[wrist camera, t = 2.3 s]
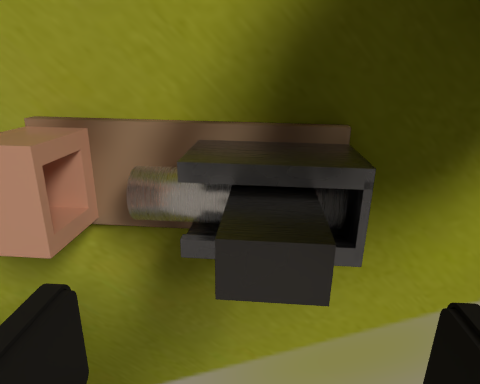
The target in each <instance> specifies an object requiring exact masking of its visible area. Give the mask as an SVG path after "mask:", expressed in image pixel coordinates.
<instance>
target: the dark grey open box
mask: <svg viewBox="0 0 480 384" xmlns="http://www.w3.org/2000/svg"><path fill="white" fill-rule="evenodd" d="M375 172H376V169H375V168H374V167H373V166H372V165H371V164H370V163H369V162H368V161H367V160H366V159H365V158H363V157H362V156H361V155H360V154H359V153H358V152H357V151H356V150H355V149H354V148H353V147H351V146H350V145H349V144H322V143H289V142H257V141H225V140H198V141H197V142H196V143H195V144H194V145H193V146H192V147H191V148H190V149H189V150H188V151H187V152H186V153H185V154H184V155H183V156H182V157H181V158H180V159H179V160H178V161H177V175H178V182H180V183H205V184H231V185H256V186H281V187H306V188H332V189H347V210H346V217H345V222H344V225H343V227H342V228H341V229H330V230H331V233H332V236H333V238H334V241H335V243H336V251H335V259H334V266H353V267H361V265H362V259H363V252H364V245H365V239H366V232H367V225H368V218H369V212H370V205H371V198H372V192H373V185H374V178H375ZM219 225H220V223H202V222H193V223H192V225H191V227H190V229H189V231H188V233H187V234H183V235H182V237H181V239H180V243H181V257H187V258H205V259H215V238H216V234H217V231H218V228H219Z"/></svg>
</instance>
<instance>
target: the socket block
mask: <svg viewBox="0 0 480 384" xmlns="http://www.w3.org/2000/svg"><path fill="white" fill-rule="evenodd" d="M98 217H99V216H98V208H97V200H96V192H95V185H94V177H93V169H92V161H91V153H90V145H89V137H88V129H87V128H61V127H27V126H26V127H21V128H17V129H12V130H8V131H4V132H0V256H15V257H33V258H52V257H53V256H54V255H56V254H57V253H58V252H59V251H60V250H61V249H63V248H64V247H65V246H66V245H67V244H68V243H69V242H71V241H72V240H73V239H74V238H75V237H76V236H78V235H79V234H80V233H81V232H82V231H83V230H85V229H86V228H87V227H88V226H89V225H90V224H92V223H93V222H94V221H95V220H96V219H97V218H98Z"/></svg>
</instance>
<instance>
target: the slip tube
mask: <svg viewBox="0 0 480 384" xmlns="http://www.w3.org/2000/svg"><path fill="white" fill-rule="evenodd" d="M127 206H128V211H129V214H130V216H131V217H132V218H133V219H138V220H160V221H181V222H202V223H220V225H219V228H218V231H217V234H216V238H215V294H216V299H220V300H236V301H252V302H268V303H284V304H300V305H317V306H329V301H330V292H331V284H332V276H333V267H334V259H335V251H336V243H335V241H334V238H333V236H332V233H331V230H330V229H341V228H342V227H343V225H344V222H345V217H346V210H347V189H332V188H306V187H281V186H256V185H231V184H205V183H180V182H178V175H177V167H161V166H135V167H134V168H133V169H132V171H131V173H130V176H129V179H128V184H127Z"/></svg>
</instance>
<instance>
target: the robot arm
mask: <svg viewBox="0 0 480 384" xmlns="http://www.w3.org/2000/svg"><path fill="white" fill-rule="evenodd" d="M88 374H89V369H88V363H87V356H86V350H85V344H84V338H83V332H82V326H81V320H80V313H79V307H78V301H77V295H76V293H75V291H71V289H70V287H69V286H68V285H65V284H43V285H42V286H40V287H39V288H38V289H37V290H36V291H35V292H34V293H33V294H32V295H31V296H30V297H29V298H28V299H27V300H26V301H25V302H24V303H23V304H22V305H21V306H20V307H19V308H18V309H17V310H16V311H15V312H14V313H13V314H12V315H11V316H10V317H8V318H7V319H6V320H5V321H4V322H3V323H2V324H1V325H0V384H86V383H87V380H88ZM423 384H480V306H479V305H478V304H470V303H450V304H449V305H448V307H447V308H445V309H443V310H442V311H441V313H440V317H439V321H438V325H437V330H436V333H435V337H434V342H433V345H432V350H431V354H430V358H429V362H428V366H427V370H426V374H425V378H424V382H423Z"/></svg>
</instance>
